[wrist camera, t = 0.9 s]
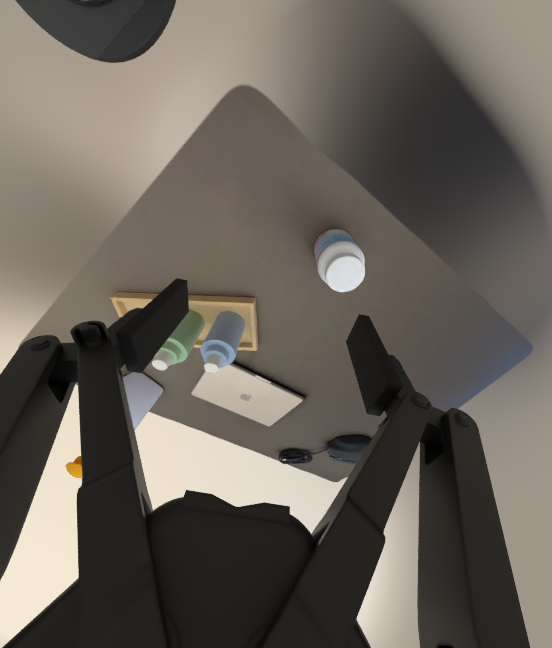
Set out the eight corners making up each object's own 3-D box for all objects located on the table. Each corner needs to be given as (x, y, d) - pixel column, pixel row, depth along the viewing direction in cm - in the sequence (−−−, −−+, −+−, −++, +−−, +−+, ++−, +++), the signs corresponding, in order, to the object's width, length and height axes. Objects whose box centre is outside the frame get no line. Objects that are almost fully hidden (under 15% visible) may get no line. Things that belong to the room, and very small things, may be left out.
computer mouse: (377, 445, 69) (383, 464, 64) (287, 461, 80) (286, 478, 75) (369, 430, 64) (374, 449, 60) (274, 449, 75) (273, 466, 71)
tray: (138, 337, 50) (132, 344, 48) (117, 291, 43) (109, 297, 42) (258, 343, 48) (256, 350, 47) (255, 297, 42) (253, 303, 40)
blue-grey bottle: (210, 317, 44) (184, 361, 34) (234, 306, 42) (215, 349, 32) (227, 338, 47) (208, 384, 37) (250, 329, 45) (237, 375, 35)
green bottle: (169, 315, 45) (132, 358, 35) (191, 304, 43) (159, 346, 33) (188, 336, 48) (159, 381, 38) (210, 327, 46) (185, 372, 36)
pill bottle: (315, 227, 34) (322, 248, 25) (355, 228, 34) (378, 249, 24) (311, 265, 37) (316, 296, 28) (348, 266, 37) (365, 298, 28)
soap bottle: (157, 406, 66) (105, 496, 48) (117, 379, 60) (39, 470, 42) (178, 397, 62) (130, 490, 44) (138, 367, 56) (62, 461, 38)
